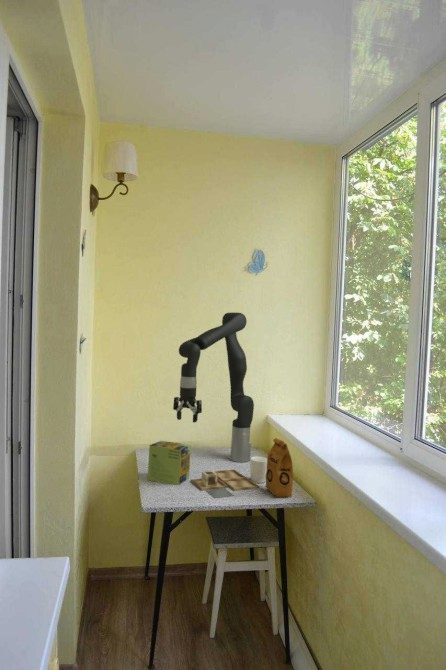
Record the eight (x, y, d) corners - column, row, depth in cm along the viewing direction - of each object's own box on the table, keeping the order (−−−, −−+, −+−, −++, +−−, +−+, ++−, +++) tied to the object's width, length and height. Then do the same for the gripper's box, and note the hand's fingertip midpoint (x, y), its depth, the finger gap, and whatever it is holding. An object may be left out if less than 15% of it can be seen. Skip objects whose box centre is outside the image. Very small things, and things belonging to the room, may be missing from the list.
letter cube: (212, 482, 223) (212, 470, 223) (216, 486, 218) (217, 474, 218) (201, 483, 221) (202, 471, 221) (206, 487, 216) (206, 475, 216)
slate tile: (225, 489, 216) (225, 488, 216) (234, 497, 208) (234, 495, 208) (205, 491, 212) (205, 490, 212) (214, 499, 204) (214, 498, 204)
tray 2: (234, 472, 241) (234, 469, 240) (246, 480, 230) (246, 477, 230) (210, 474, 235) (210, 471, 235) (221, 482, 225) (222, 479, 225)
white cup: (268, 479, 232) (270, 457, 232) (264, 484, 225) (265, 462, 225) (252, 477, 235) (253, 455, 235) (247, 482, 228) (248, 459, 227)
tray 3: (246, 480, 230) (246, 477, 230) (259, 489, 219) (259, 486, 219) (221, 482, 225) (222, 479, 225) (234, 492, 214) (234, 488, 214)
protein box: (179, 486, 217) (181, 450, 216) (147, 480, 222) (148, 444, 222) (189, 479, 227) (191, 444, 226) (158, 473, 232) (160, 439, 232)
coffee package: (272, 498, 209) (275, 444, 208) (262, 488, 221) (265, 437, 220) (295, 497, 211) (298, 444, 210) (284, 487, 223) (287, 437, 222)
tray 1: (215, 480, 228) (216, 477, 228) (227, 489, 217) (227, 485, 217) (190, 482, 223) (190, 479, 223) (201, 491, 212) (201, 488, 212)
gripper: (205, 386, 237) (204, 421, 238) (180, 383, 244) (178, 417, 245) (196, 388, 230) (195, 424, 231) (170, 385, 237) (169, 420, 238)
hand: (186, 420), depth 238 cm, fingers open, 8 cm apart
